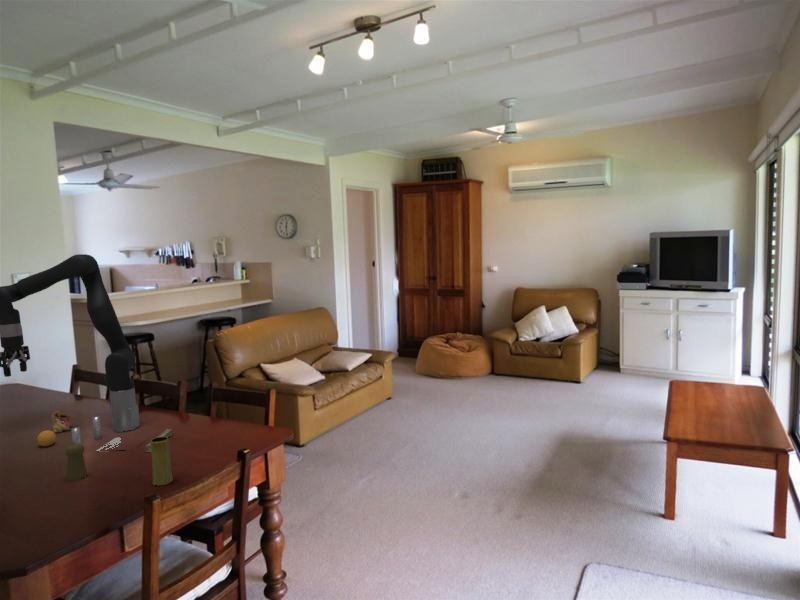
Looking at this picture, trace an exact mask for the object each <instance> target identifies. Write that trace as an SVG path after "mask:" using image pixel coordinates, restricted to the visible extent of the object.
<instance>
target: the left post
mask: <svg viewBox="0 0 800 600" xmlns="http://www.w3.org/2000/svg"><path fill="white" fill-rule="evenodd" d="M70 429H71V430H70V431H71V439H72V445H73V444H82V440H81V428H80V426H75V427H71V428H70Z"/></svg>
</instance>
